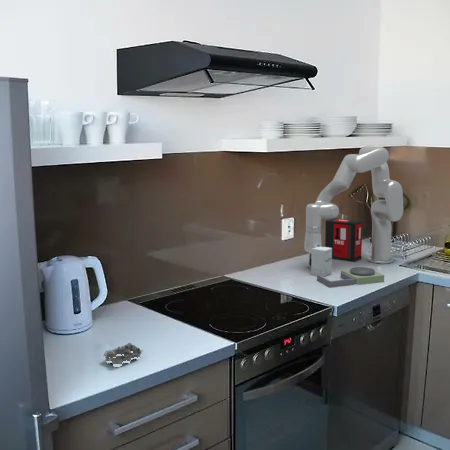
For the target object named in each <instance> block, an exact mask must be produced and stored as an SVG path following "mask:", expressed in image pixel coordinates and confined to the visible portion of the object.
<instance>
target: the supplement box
mask: <svg viewBox="0 0 450 450" xmlns="http://www.w3.org/2000/svg"><path fill="white" fill-rule="evenodd" d="M332 261H333V259H332V248H329V247H325V246H322V247H319V246H318V247H316V248H313V249H312V253H311V267H310V274H311V275H312V276H317V275H321V276H322V277H324V278H326V276H329V275H330V274H332V265H333V264H332Z"/></svg>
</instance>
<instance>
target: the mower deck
mask: <svg viewBox="0 0 450 450" xmlns="http://www.w3.org/2000/svg"><path fill="white" fill-rule="evenodd" d="M340 278H341V279H338V280H337V279H335V280H329V279H328V278H326V277H322V276H321V275H316V281H318V282H319V283H321V284H323V285H324V286H327V287H328V288H338V287H345V286H353V285H354V284H359V285H366V284H367V283H368V284H376V283H384V282H385V275H384V274H382V273H380V272H377V271H376V270H375V269H373V268H371V267H365V266H364V267H363V266H358V267H357V266H355V267H351V268H350V269H342V270H340Z"/></svg>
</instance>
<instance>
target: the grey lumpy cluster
mask: <svg viewBox="0 0 450 450" xmlns="http://www.w3.org/2000/svg"><path fill="white" fill-rule="evenodd" d="M131 351H133V353H131ZM142 352H144V351H143V349H140V347H137V346H136V345H135V344H132V343H131V342H128V343H127V344H125V345H121V346H117V348H114V349H112V350H111V349H110V350H106V351H105V352H104V353H103V354H102V355H103V357H105V362H106V361H112V364H122V362H123V361H126V360H127V361H130V360H131V358H134V357H137V358H138V357H140V355H142ZM117 354H121V355H122V354H124V356H123V355H122V356H116V355H117ZM109 357H110V358H109ZM113 357H116V358H113ZM140 358H141V357H140ZM112 364H111V365H112Z"/></svg>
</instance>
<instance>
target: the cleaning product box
mask: <svg viewBox="0 0 450 450" xmlns="http://www.w3.org/2000/svg"><path fill="white" fill-rule="evenodd" d="M324 234H325V237H324V238H325V240H324V242H325V243H324V247H329V248H332V260H337V259H338V260H337V261H346V262H351V263H356V262H357V261H360V260H361V259H362V243H363V220H355V219H347V218H346V219H345V218H337V217H335V218H333V219H326V220H325V233H324Z"/></svg>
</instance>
